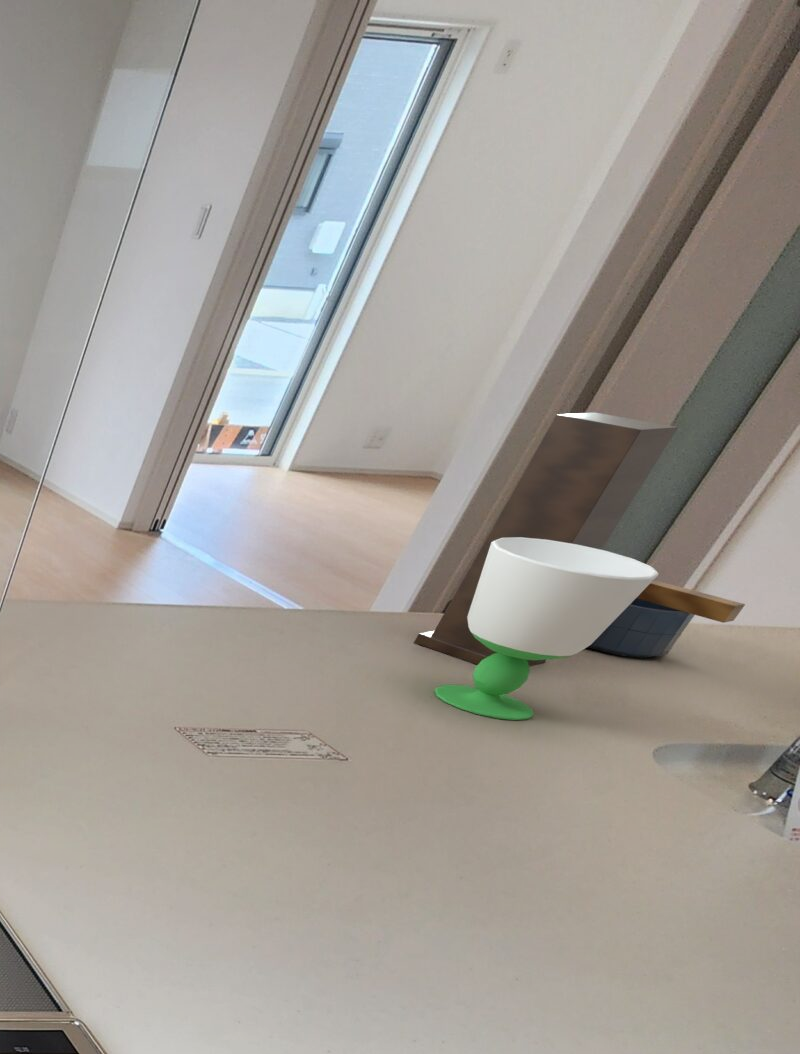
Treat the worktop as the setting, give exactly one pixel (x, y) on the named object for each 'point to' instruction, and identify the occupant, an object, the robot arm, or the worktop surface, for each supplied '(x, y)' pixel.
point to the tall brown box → (561, 503)
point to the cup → (540, 614)
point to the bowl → (643, 630)
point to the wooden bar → (691, 601)
